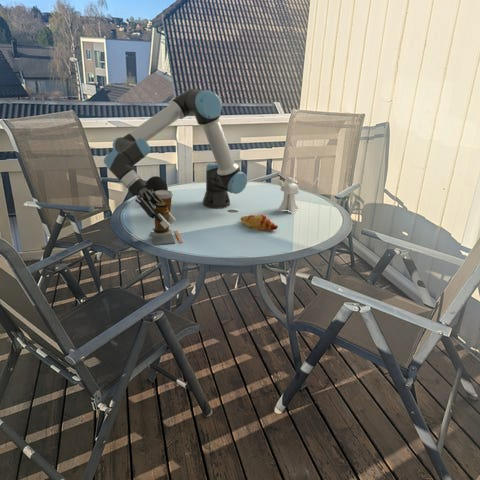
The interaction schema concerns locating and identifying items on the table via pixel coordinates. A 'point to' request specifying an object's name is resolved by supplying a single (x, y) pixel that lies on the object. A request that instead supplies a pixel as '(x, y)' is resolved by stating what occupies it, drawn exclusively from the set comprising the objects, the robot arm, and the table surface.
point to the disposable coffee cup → (165, 197)
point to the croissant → (258, 222)
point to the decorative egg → (156, 184)
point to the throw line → (178, 237)
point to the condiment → (164, 211)
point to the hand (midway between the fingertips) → (170, 224)
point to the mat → (162, 238)
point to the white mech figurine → (289, 194)
